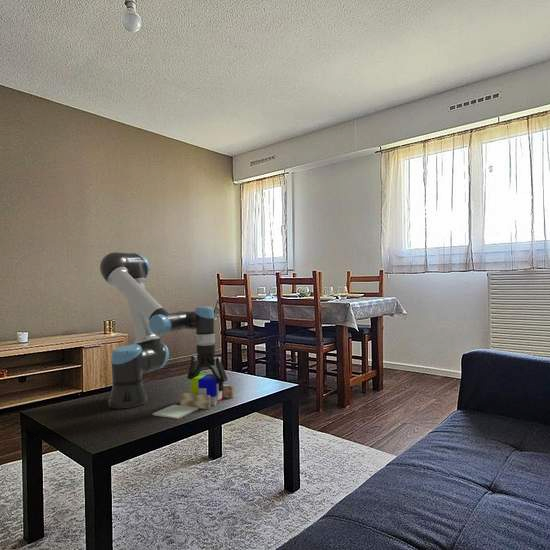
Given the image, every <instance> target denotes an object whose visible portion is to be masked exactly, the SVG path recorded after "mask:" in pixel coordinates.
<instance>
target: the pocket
mask: <svg viewBox="0 0 550 550" xmlns="http://www.w3.org/2000/svg"><path fill="white" fill-rule="evenodd" d="M225 397H226V398H225ZM223 398H225V399H233V398H234V385H231V384H230V385H229V384H223ZM179 400H180V402H179V403H180V404H179V405H181V406H189V407H196V408H198V409H205V410H211V409H212V407H211V406H212V405H211V398H210V395H202V394H193V393H191V392H183V391H182V392H180V393H179Z"/></svg>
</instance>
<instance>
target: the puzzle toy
mask: <svg viewBox="0 0 550 550" xmlns="http://www.w3.org/2000/svg"><path fill="white" fill-rule="evenodd" d="M216 383H218V382H217V380H216V378H215V376H214V374H213V373H211V374H210V373H209V374H205V373H203V374H202V373H199V375H198V376H196V377H194V378H193V379H191V380H190V393H193V394H202V395H210V398H211V406H216V405H217V404H218V403H220V402H221V401H222V400H223V399H224V397H223V391H222V398H221V399H219V400H217V390H216Z"/></svg>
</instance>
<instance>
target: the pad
mask: <svg viewBox="0 0 550 550" xmlns="http://www.w3.org/2000/svg"><path fill="white" fill-rule="evenodd" d="M198 410H199V408H196V407H189V406H181V405H180V404H172V405H170V406H167V407H164V408H162V409H160V410H158V411H155V412H153V413H152V416H156V417H163V418H168V419H169V418H170V419H175V420H179V419H180V418H183V417H186V416H187V415H190V414H191V413H193V412H195V411H198Z"/></svg>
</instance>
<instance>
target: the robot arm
mask: <svg viewBox="0 0 550 550" xmlns="http://www.w3.org/2000/svg"><path fill="white" fill-rule="evenodd" d="M150 268H151V266H150V263H149V260H148V259H147V258H146V257H145V256H144V255H142V254H140V253H135V252H115V251H114V252H109V253H107V254H106V255H105V256H103V257H102V259H101V261H100V265H99V270H100V273H101V277H102V278H103V279H104V280H105V281H106V282H107V283H108V284H109V285H110V286H113V287H115V288H116V289H117V290H118V291H119V292H120V293H121V294H122V295H123V296H124V297H125V298H126V299H127V304H128V308H129V312H130V319H131V322H132V327H133V332H134V334H135V335H134V336H135V341H134V342H133V344H132V343H131V344H127V345H122V346H119V347H116V348H115V349H113V350H112V353H111V360H110V361H111V375H112V376H111V377H112V383H111V384H112V388H111V392H110V394H109V398H108V403H107V404H108V407H109V408H110V409H116V410H117V409H119V410H121V409H122V410H123V409H129V408H136V407H139V406H143V405H145V404H146V403H147V402H148V395H147V393H146V389H145V387H144V385H143V384H144V383H143V374H147V373H150V372H155V371H158V370H159V369H161V368H164V367H165V366H166V365H167V362H168V361H169V358H170V357H169V356H170V352H169V348H168V346H167V345H166V344H165V343H163V342H162V341H161V337H160V336H158V335H165V334H168V333H172V332H178V331H179V332H180V331H184V330H195V338H196V340H195V341H196V344H197V345H196V355H192V356H191V357H190V361H191V362H190V365H189V369H188V371H187V376H186V378H187V379H188V380H190V381H191V379H193V378H194V377H196V376H198V375H200V374H201V371H202V369H203V368H208V369H209V370H210V371H211V374H214V376H215V378H216V380H217V382H218V383H216V390H217V400H219V399H221V398H222V391H223V385H224V382H227V381H228V377H227V374H226V371H225V368H224V365H223V360H222V359H223V358H222V356H218V357H217V356H215V355H216V344H215V343H216V336H215V335H216V334H215V333H216V332H215V315H214V313H215V312H214V308H213V306H209V305H207V306H205V305H204V306H196V307H195V310H194V311H189V310H188V311H186V310H185V311H184V310H179V311H174V312H171V313H170V312H168V311H167V310H166V309H165V308H164V307H163V306H162V305H161V304H160V303H159V302H158V301H157V300H156V299H155V298H154V297H153V296H152V295H151V294H150V293H149V292H148V291H147V290H146V286H145V285H146V283H147V280H148V275H149V272H150Z"/></svg>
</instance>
